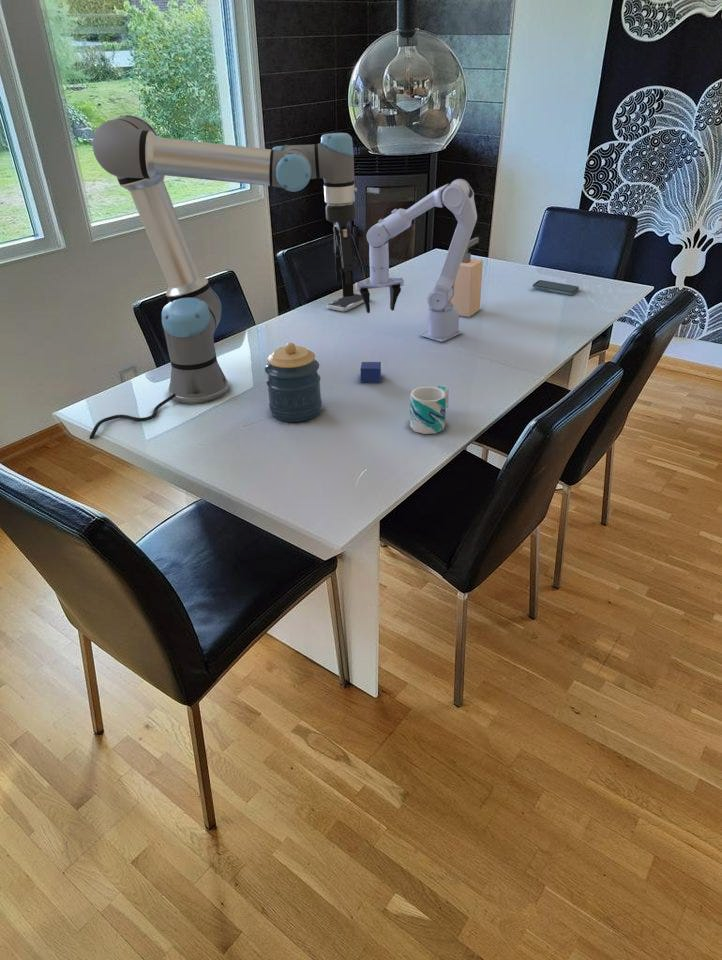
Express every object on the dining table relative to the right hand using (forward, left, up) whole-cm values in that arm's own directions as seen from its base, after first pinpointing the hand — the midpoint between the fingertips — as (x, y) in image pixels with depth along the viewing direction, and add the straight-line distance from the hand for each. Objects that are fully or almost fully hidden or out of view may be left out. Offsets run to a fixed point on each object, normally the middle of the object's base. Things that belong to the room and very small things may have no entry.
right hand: (380, 310), depth 207 cm
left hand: (+25, +11, +15) cm, 31 cm away
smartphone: (-12, -26, -7) cm, 30 cm away
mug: (+37, +51, -7) cm, 63 cm away
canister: (+54, +21, -7) cm, 59 cm away
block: (+28, +22, -7) cm, 37 cm away
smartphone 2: (-69, +21, -7) cm, 73 cm away
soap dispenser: (-33, +9, -7) cm, 34 cm away
